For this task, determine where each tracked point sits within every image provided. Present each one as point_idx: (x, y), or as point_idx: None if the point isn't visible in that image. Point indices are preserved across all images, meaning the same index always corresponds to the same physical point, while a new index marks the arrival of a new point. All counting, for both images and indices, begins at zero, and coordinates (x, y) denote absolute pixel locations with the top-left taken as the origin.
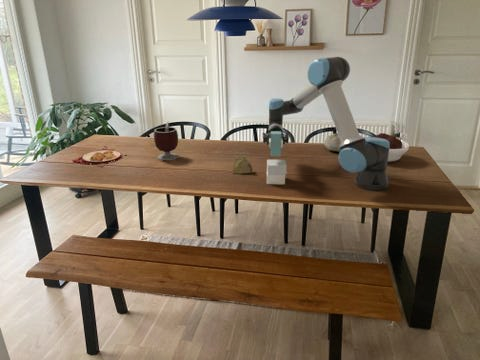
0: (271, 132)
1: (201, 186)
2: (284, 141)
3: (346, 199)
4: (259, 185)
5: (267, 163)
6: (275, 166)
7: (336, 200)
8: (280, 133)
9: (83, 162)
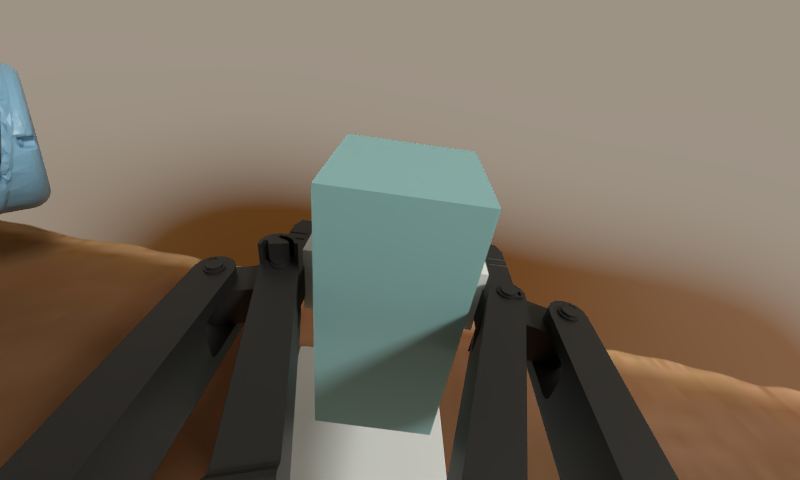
0: (477, 175)
1: (741, 429)
2: (304, 221)
3: (133, 262)
4: (457, 418)
5: (438, 411)
6: None
7: (177, 261)
8: (353, 142)
9: None
